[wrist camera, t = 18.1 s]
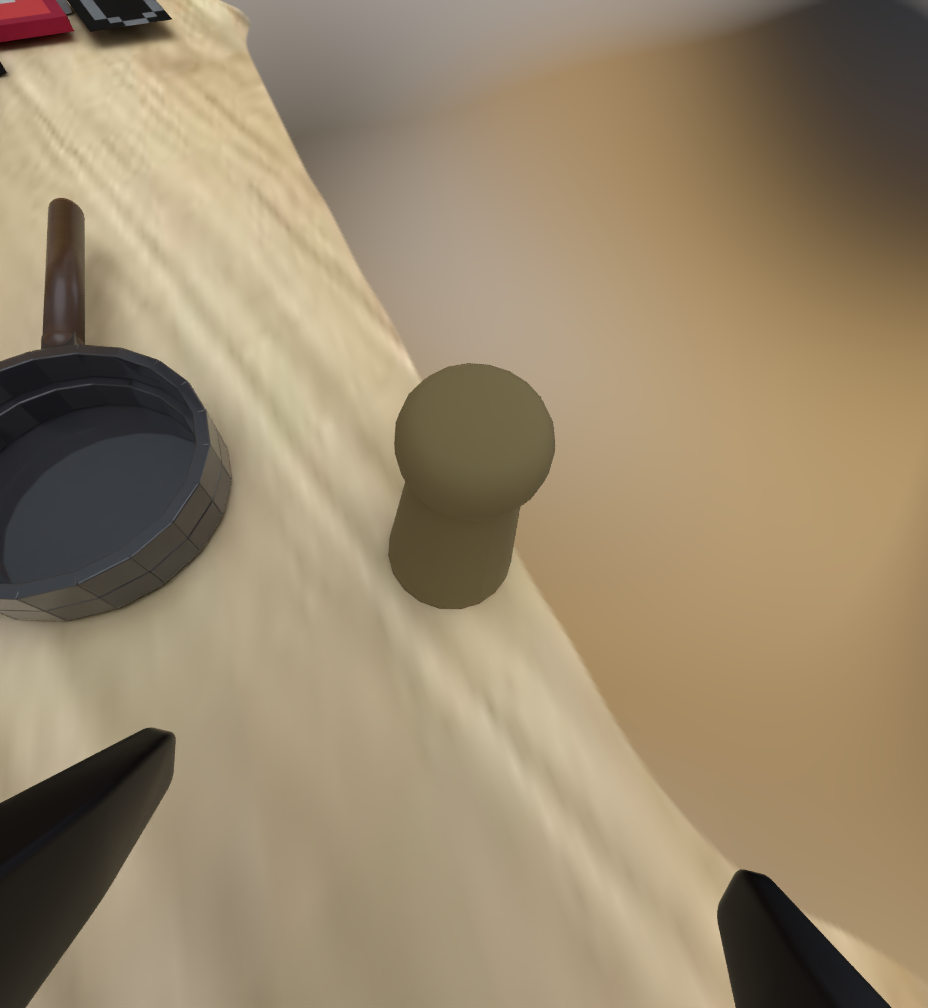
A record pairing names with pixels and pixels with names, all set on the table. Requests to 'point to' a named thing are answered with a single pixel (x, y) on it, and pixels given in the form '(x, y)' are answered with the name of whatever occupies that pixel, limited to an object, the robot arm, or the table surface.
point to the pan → (101, 480)
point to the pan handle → (64, 276)
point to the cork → (465, 480)
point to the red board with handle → (43, 7)
